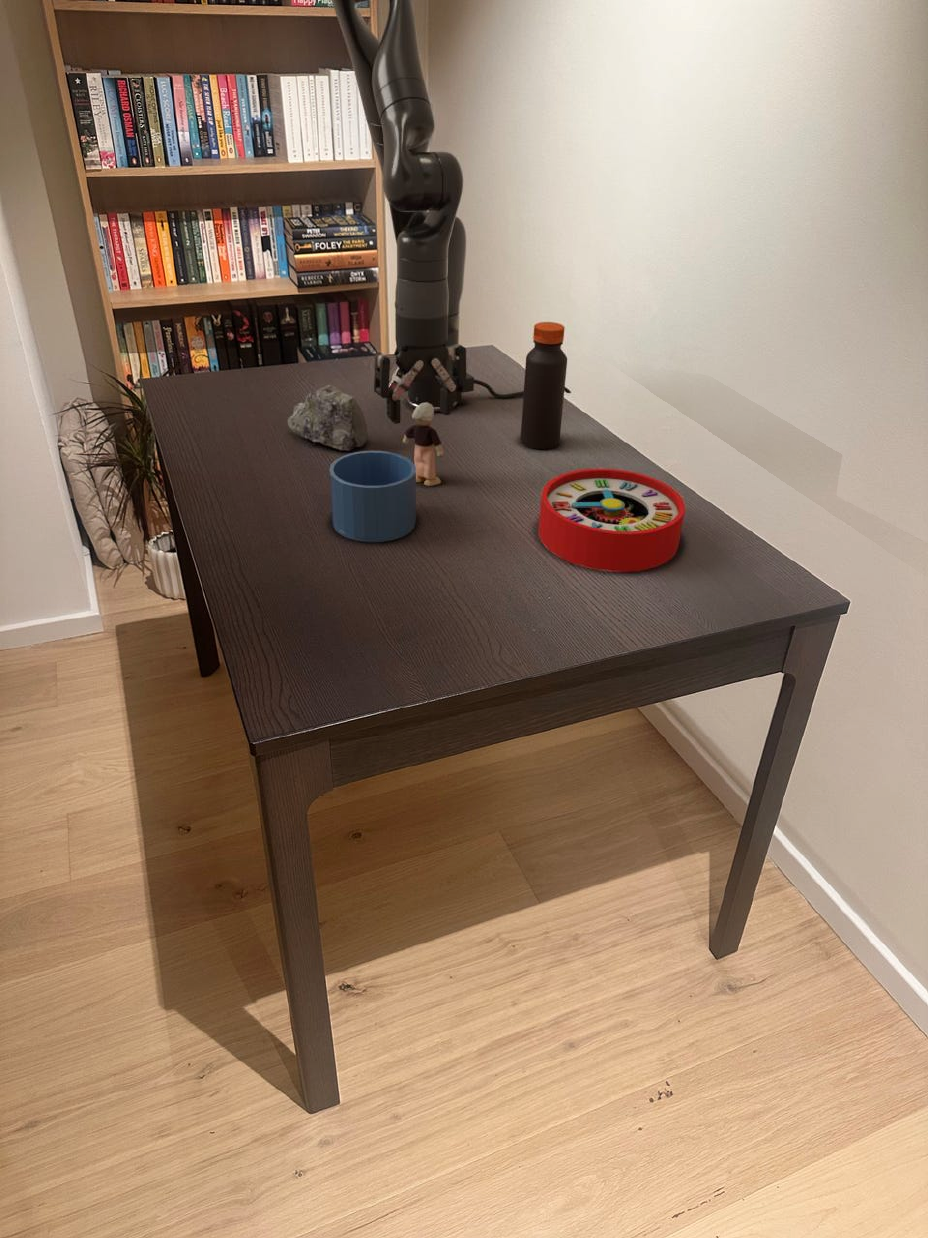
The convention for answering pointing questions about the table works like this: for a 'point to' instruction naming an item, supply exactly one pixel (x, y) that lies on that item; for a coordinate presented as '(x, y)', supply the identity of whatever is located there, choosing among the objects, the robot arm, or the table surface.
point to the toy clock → (611, 519)
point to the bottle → (544, 387)
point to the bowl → (373, 496)
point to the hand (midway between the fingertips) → (420, 417)
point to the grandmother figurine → (424, 444)
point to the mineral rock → (330, 419)
